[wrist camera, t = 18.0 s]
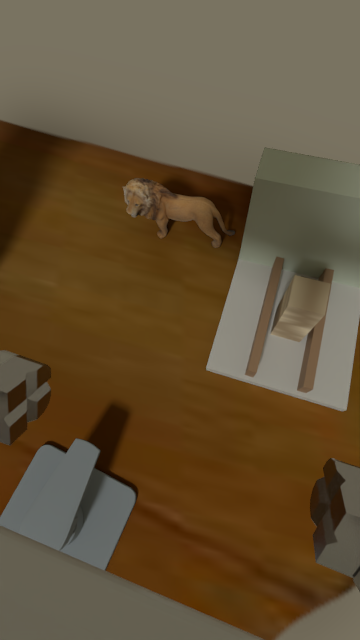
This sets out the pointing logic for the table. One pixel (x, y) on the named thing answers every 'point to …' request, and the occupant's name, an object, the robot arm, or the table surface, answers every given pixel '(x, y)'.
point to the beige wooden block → (300, 308)
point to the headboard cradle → (280, 268)
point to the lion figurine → (172, 208)
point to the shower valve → (70, 504)
